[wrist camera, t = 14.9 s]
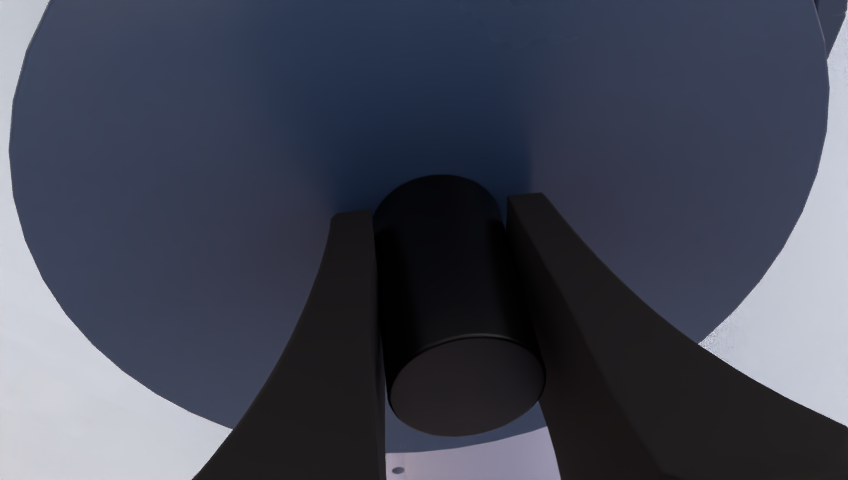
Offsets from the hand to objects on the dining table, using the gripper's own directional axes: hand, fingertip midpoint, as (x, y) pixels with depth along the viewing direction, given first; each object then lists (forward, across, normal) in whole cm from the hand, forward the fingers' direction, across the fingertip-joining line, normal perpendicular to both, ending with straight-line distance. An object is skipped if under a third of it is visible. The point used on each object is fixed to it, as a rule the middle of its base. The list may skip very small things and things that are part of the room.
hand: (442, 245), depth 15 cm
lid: (+1, 0, 0) cm, 1 cm away
